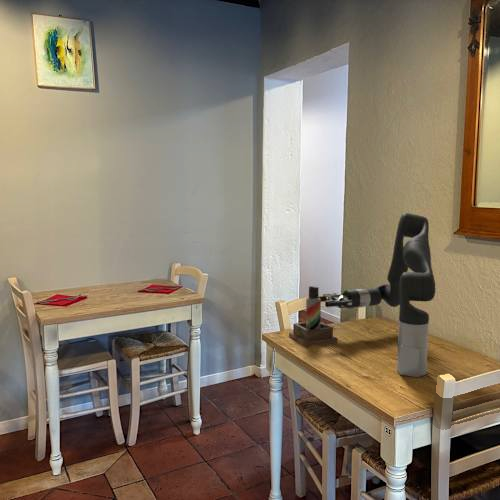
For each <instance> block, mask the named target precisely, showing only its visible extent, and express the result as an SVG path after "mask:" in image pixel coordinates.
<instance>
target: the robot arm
mask: <svg viewBox="0 0 500 500" xmlns="http://www.w3.org/2000/svg"><path fill="white" fill-rule="evenodd" d="M429 224H430V223H429V220H428V218H427V217H425V216H423V215H419V214H414V213H408V212H404V213H402V214H401V216H400V218H399V221H398V224H397V229H396V233H395V234H396V235H395V240H394V247H393V253H392V258H391V263H390V265H389V266H390V267H389V270H388V273H387V277H386V278H387V281H388V284H385V283H384V284H382V285H379V286H376V287H374V288H359V289H358V288H357V289H356V288H355V289H346V290H343V292H342V295H341V294H339V293H338V294H337V293H336V292H334V293H323V294H322V295H319V297H318V298H320V299H321V302H324V304H325V305H324V306H325V307H326V308H333V307H334V308H338V309H342V308H346V309H357V308H358V309H359V308H360V309H361V308H365V307H370V306H371V307H372V306H378V305H380V304H381V302H382V300H383V301H384V302H385V303H386V305H388V306H390V307H392V308H396V307H399V311H398V312H399V315H398V317H399V318H398V332H397V333H398V335H397V336H398V337H397V338H398V339H397V356H396V357H397V358H396V359H397V362H396V363H397V364H396V371H397V372H398V373H399V375H402V376H408V377H414V378H420V377H423V376H426V374H427V363H428V342H429V325H430V324H429V323H430V322H429V321H430V320H429V319H430V314H429V313H428V312H427V311H425V310H423V309H420V308H418V307H416V306H414V305H413V304H412V303H411V302H431V301H433V299H434V297H435V295H436V290H437V289H436V280H435V276H434V272H433V267H432V258H431V255H432V254H431V247H430V242H429V241H430V240H429V233H430V231H429V229H430V225H429ZM405 237H406V238H409V239H408V240H407V242H406V243H405V244H404V238H405ZM409 270H411V271H412V272H411V271H409Z"/></svg>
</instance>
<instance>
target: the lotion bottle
mask: <svg viewBox="0 0 500 500" xmlns="http://www.w3.org/2000/svg"><path fill="white" fill-rule="evenodd" d="M319 289H320V288H319V287H317V286H313V285H312V286H311V285H310V286H308V297H306V303H305V306H306V307H305V308H306V309H305V322H306V329H308V330H313V329H320V322H321V321H322V319H321V312H322V311H321V310H322V308H321V306H322V305H321V304H322V303H321V299H320V298H318V297H319V296H320V295H319V293H320V292H319Z"/></svg>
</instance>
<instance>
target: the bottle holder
mask: <svg viewBox="0 0 500 500" xmlns="http://www.w3.org/2000/svg"><path fill="white" fill-rule="evenodd" d="M292 326H293V328H292V329H293V331H292V332H289V333H288V337H290V338H291V339H293V340H295V341H297V343H300V344H301V345H303V346H305V347H306V348H307V347H313V346H319V345H325V344H331V343H337V342H338V337H337V336H335V335H334V328H333V327H332V326H331V325H328V324H327V323H324V322H321V321H320V329H313V330H308V329H306V321H304V322H303V321H302V322H296V323H295V322H294V323H293V325H292Z"/></svg>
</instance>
